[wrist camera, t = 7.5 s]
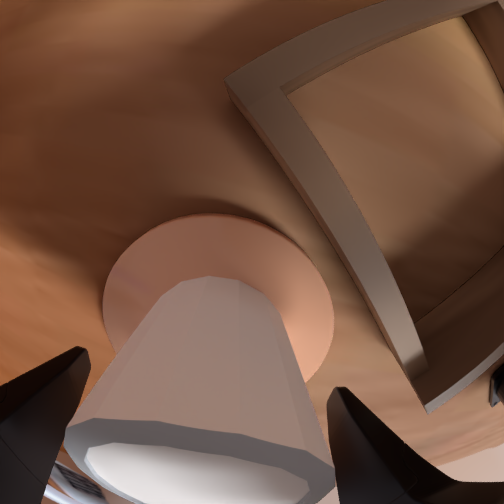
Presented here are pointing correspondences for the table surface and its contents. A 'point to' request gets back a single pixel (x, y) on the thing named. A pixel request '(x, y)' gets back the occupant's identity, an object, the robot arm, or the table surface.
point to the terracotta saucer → (225, 266)
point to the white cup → (204, 407)
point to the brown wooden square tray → (345, 208)
